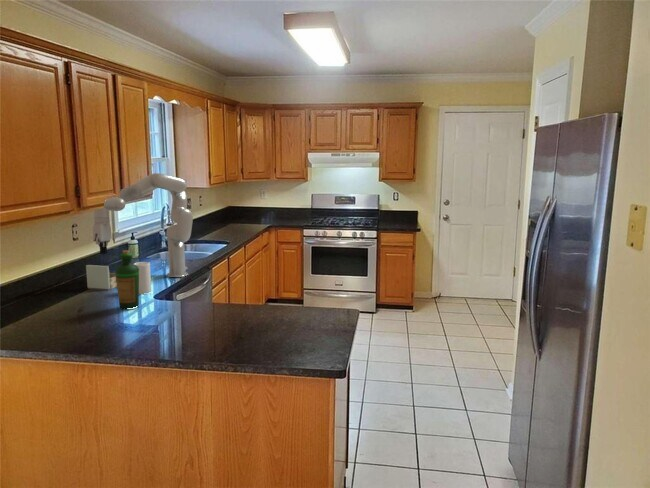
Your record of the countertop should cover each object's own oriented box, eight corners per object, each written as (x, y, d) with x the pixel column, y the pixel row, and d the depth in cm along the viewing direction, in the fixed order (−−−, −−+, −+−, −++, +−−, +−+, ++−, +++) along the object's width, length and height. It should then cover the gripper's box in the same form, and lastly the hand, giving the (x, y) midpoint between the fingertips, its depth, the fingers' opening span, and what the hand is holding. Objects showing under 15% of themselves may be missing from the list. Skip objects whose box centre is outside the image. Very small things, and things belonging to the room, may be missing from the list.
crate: (103, 283, 263) (102, 272, 262) (124, 284, 261) (123, 273, 260) (89, 289, 252) (88, 277, 250) (111, 290, 249) (110, 279, 248)
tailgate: (89, 289, 251) (87, 264, 249) (110, 290, 249) (108, 266, 247) (87, 289, 250) (85, 265, 248) (108, 291, 248) (107, 266, 245)
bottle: (112, 308, 219) (108, 251, 214) (130, 303, 229) (127, 248, 224) (127, 312, 215) (124, 254, 210) (146, 306, 224) (143, 250, 219)
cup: (154, 290, 251) (152, 262, 248) (146, 295, 243) (145, 265, 240) (139, 290, 252) (138, 261, 249) (132, 294, 244) (130, 264, 241)
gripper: (104, 218, 257) (106, 250, 260) (86, 221, 242) (88, 255, 246) (116, 219, 256) (118, 251, 259) (99, 222, 241) (100, 256, 244)
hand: (103, 253), depth 252 cm, fingers closed
